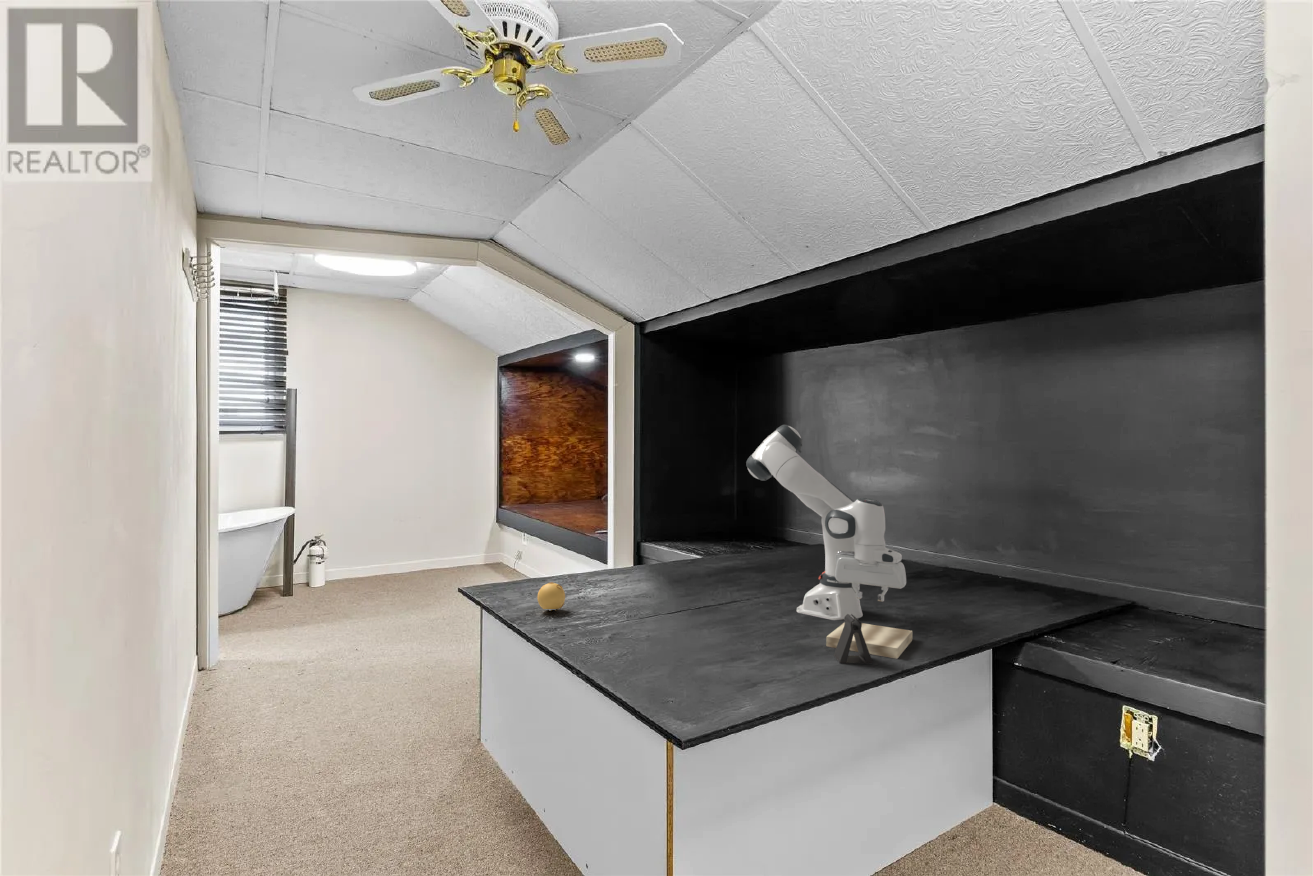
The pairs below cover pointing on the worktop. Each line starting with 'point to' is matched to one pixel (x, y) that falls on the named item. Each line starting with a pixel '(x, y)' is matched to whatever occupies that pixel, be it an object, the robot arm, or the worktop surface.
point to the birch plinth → (876, 640)
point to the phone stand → (845, 641)
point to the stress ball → (551, 596)
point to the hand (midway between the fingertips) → (869, 599)
